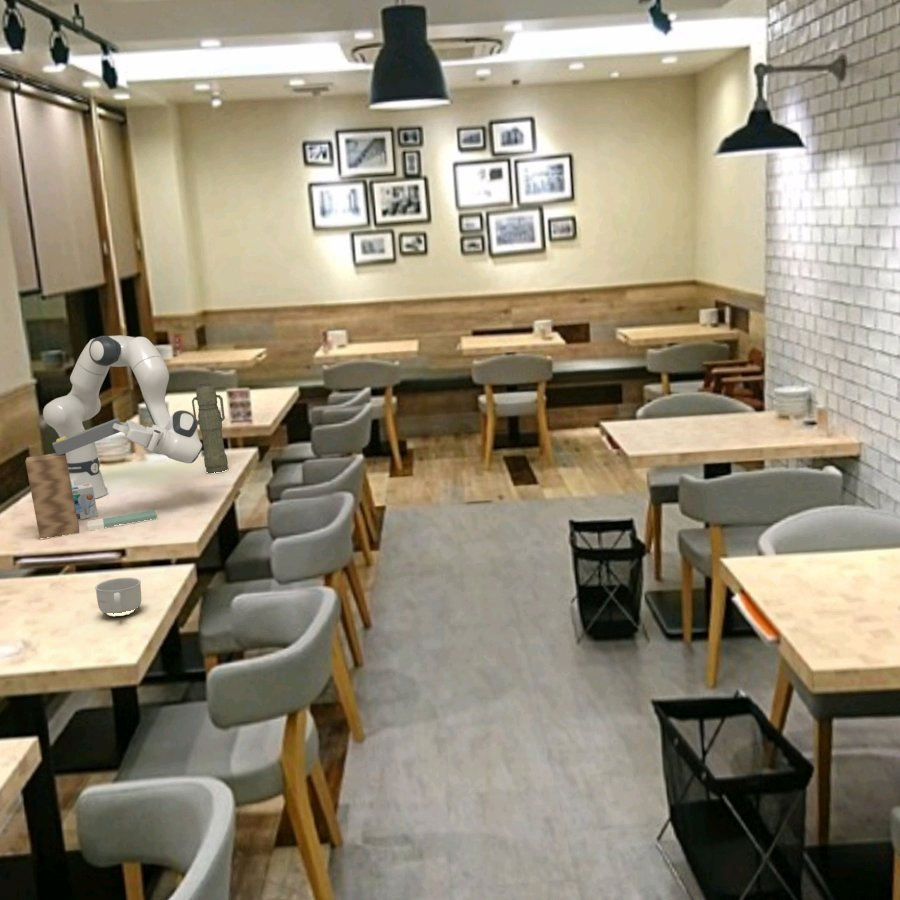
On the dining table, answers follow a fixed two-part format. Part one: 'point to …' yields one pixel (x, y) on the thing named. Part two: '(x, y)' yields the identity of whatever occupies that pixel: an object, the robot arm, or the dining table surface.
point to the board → (121, 519)
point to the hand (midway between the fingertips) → (112, 423)
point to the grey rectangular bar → (85, 437)
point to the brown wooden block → (52, 495)
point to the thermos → (211, 427)
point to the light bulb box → (84, 501)
